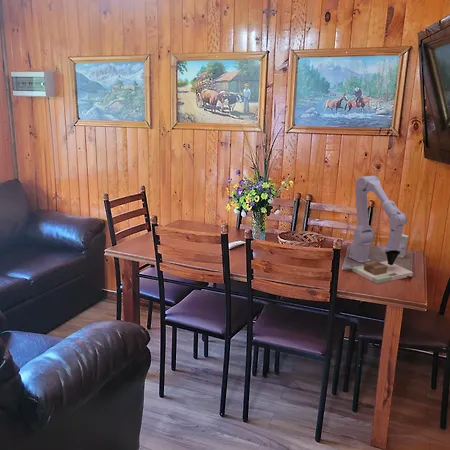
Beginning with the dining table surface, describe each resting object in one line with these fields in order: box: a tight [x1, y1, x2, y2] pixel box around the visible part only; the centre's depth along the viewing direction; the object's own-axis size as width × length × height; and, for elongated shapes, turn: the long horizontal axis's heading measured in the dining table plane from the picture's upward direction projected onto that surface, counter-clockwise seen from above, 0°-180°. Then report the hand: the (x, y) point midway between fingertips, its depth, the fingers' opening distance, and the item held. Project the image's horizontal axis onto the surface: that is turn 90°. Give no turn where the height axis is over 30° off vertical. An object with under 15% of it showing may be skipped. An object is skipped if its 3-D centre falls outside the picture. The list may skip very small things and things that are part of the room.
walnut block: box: [363, 260, 388, 275], centre depth 211 cm, size 8×8×4 cm
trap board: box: [352, 260, 414, 285], centre depth 214 cm, size 16×24×2 cm
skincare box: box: [397, 233, 410, 259], centre depth 237 cm, size 6×4×12 cm
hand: (390, 264), depth 215 cm, fingers closed
